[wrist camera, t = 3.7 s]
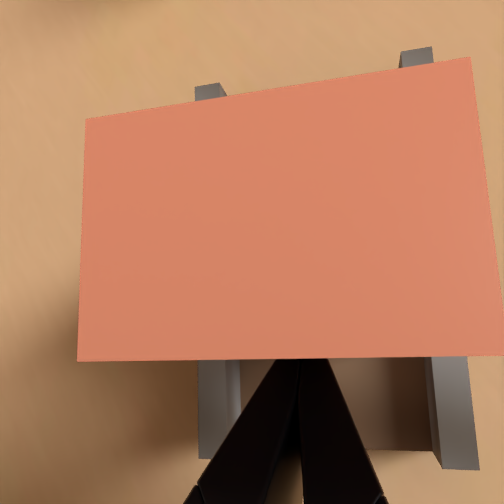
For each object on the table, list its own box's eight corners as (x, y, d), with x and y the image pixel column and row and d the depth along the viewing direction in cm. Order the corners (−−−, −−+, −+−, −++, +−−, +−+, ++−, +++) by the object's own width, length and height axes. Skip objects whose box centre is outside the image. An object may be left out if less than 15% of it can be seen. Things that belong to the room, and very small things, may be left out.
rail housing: (461, 440, 16) (489, 472, 12) (223, 434, 18) (190, 459, 14) (424, 94, 18) (438, 41, 14) (217, 124, 20) (187, 85, 17)
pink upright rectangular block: (413, 334, 15) (509, 355, 5) (244, 339, 16) (77, 361, 7) (402, 221, 16) (470, 56, 6) (241, 234, 17) (85, 118, 7)
